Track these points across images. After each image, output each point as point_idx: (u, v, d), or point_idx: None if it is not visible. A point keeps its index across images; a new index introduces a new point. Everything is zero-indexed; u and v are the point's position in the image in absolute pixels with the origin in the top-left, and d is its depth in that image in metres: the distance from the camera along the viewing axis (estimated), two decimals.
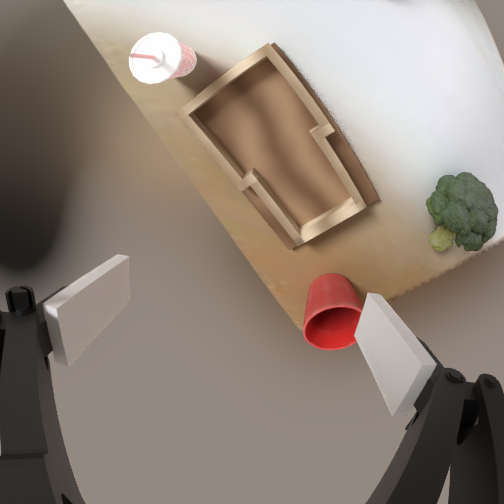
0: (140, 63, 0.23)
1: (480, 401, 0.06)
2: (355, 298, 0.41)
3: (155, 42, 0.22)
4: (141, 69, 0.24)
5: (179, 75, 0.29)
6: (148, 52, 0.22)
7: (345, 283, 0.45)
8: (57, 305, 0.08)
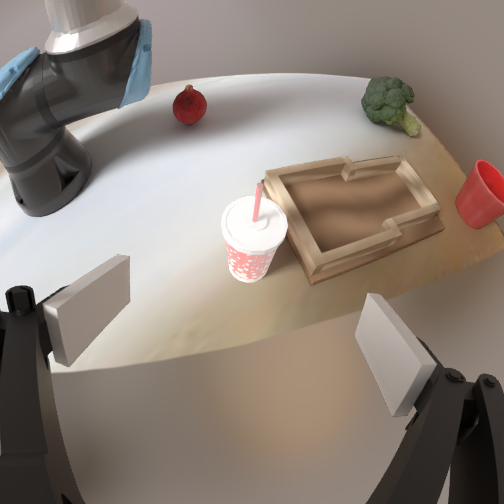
0: (253, 238, 0.25)
1: (480, 401, 0.06)
2: (470, 172, 0.38)
3: (236, 215, 0.26)
4: (261, 239, 0.25)
5: None
6: (246, 222, 0.25)
7: (461, 189, 0.41)
8: (57, 305, 0.08)
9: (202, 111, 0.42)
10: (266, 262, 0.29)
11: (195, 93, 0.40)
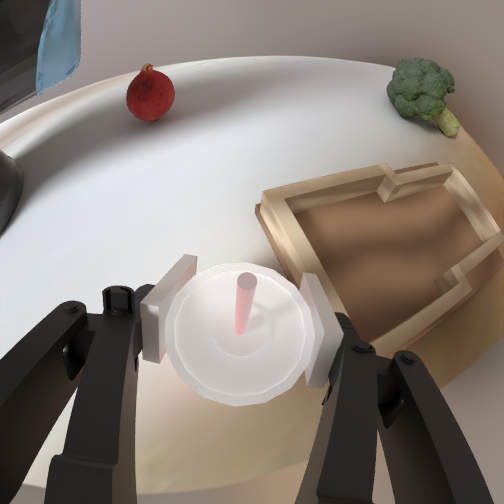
0: (236, 371, 0.10)
1: (401, 381, 0.08)
2: None
3: (198, 314, 0.11)
4: (257, 375, 0.10)
5: None
6: (220, 336, 0.11)
7: None
8: (157, 303, 0.10)
9: (167, 100, 0.27)
10: None
11: (156, 75, 0.25)
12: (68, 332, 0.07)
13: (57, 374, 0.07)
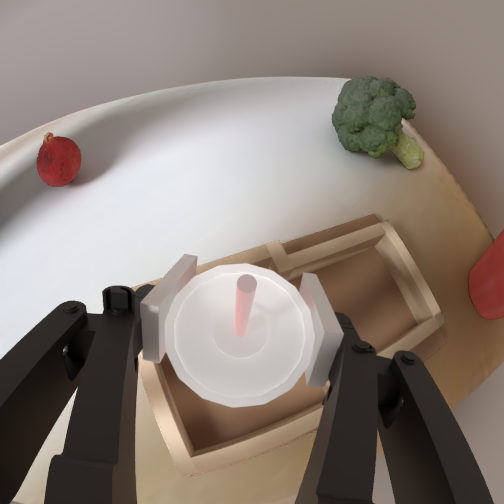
0: (236, 373, 0.10)
1: (401, 381, 0.08)
2: (497, 239, 0.22)
3: (198, 315, 0.11)
4: (257, 377, 0.10)
5: None
6: (220, 338, 0.11)
7: (479, 263, 0.25)
8: (157, 303, 0.10)
9: (69, 168, 0.26)
10: None
11: (56, 145, 0.24)
12: (68, 332, 0.07)
13: (57, 374, 0.07)
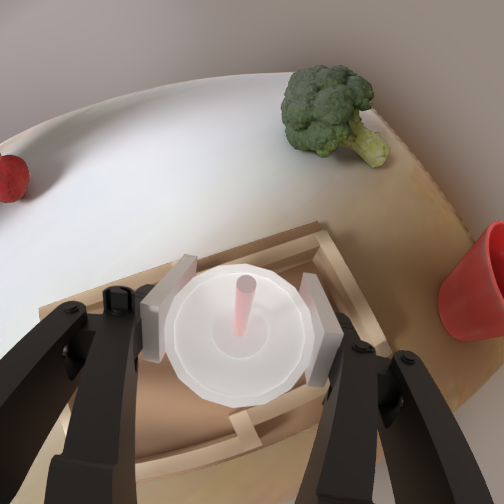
0: (236, 373, 0.10)
1: (401, 381, 0.08)
2: (472, 248, 0.20)
3: (197, 316, 0.11)
4: (256, 377, 0.10)
5: None
6: (219, 338, 0.11)
7: (450, 276, 0.23)
8: (157, 303, 0.10)
9: (16, 185, 0.24)
10: None
11: (3, 164, 0.21)
12: (68, 332, 0.07)
13: (57, 374, 0.07)
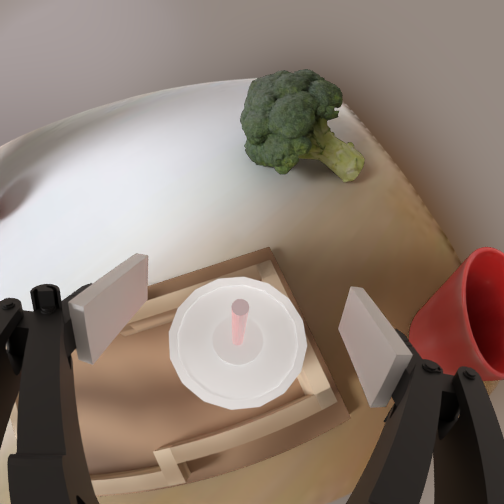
0: (234, 378, 0.11)
1: (460, 395, 0.07)
2: (448, 281, 0.18)
3: (199, 326, 0.12)
4: (253, 382, 0.11)
5: None
6: (219, 346, 0.11)
7: (423, 309, 0.21)
8: (83, 303, 0.09)
9: None
10: None
11: None
12: (8, 327, 0.06)
13: (3, 368, 0.06)
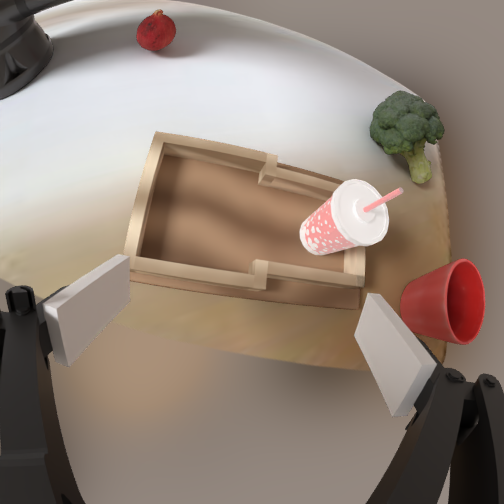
0: (356, 225, 0.23)
1: (480, 401, 0.06)
2: None
3: (350, 194, 0.24)
4: (363, 231, 0.23)
5: None
6: (357, 207, 0.23)
7: (421, 276, 0.33)
8: (57, 305, 0.08)
9: (162, 41, 0.30)
10: (345, 248, 0.27)
11: (161, 21, 0.27)
12: None
13: None
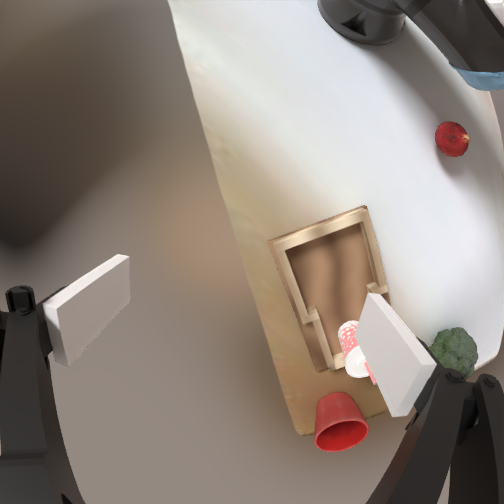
0: (354, 362, 0.37)
1: (480, 401, 0.06)
2: (361, 414, 0.44)
3: None
4: (352, 366, 0.37)
5: None
6: (364, 359, 0.37)
7: (352, 401, 0.48)
8: (57, 305, 0.08)
9: (445, 152, 0.34)
10: None
11: (460, 145, 0.31)
12: None
13: None
